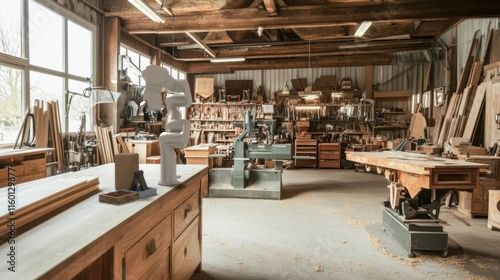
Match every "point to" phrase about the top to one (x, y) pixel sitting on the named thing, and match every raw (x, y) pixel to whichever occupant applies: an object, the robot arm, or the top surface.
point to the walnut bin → (114, 196)
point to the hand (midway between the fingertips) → (152, 121)
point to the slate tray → (143, 193)
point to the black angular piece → (139, 177)
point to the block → (125, 169)
